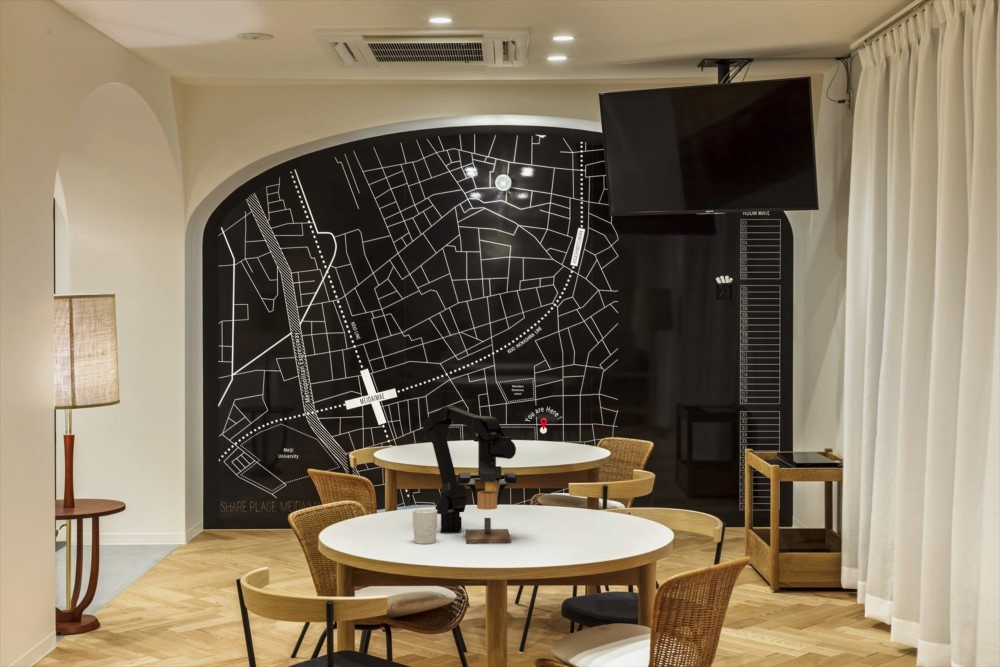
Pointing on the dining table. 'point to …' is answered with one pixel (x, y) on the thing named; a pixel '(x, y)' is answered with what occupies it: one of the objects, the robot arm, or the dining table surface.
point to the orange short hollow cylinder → (487, 500)
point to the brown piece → (487, 535)
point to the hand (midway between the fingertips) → (487, 504)
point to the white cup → (425, 525)
